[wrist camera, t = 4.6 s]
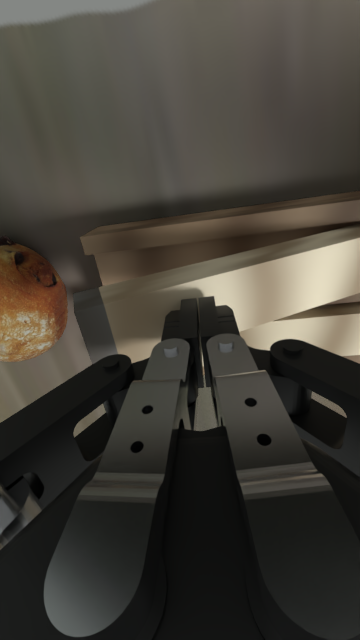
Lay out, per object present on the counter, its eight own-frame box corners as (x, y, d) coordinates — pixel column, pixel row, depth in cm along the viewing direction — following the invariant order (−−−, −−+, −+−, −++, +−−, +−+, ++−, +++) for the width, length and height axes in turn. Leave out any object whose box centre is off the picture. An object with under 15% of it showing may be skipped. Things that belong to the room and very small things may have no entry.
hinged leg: (381, 218, 18) (421, 221, 16) (372, 268, 20) (407, 277, 18) (73, 293, 13) (74, 311, 11) (93, 352, 15) (97, 378, 13)
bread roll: (-15, 286, 29) (-75, 350, 24) (-43, 202, 21) (-143, 274, 16) (78, 323, 30) (38, 391, 25) (85, 258, 22) (29, 339, 17)
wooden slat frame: (405, 184, 19) (467, 188, 15) (373, 333, 25) (411, 368, 20) (99, 226, 21) (74, 240, 17) (132, 353, 27) (119, 388, 23)
